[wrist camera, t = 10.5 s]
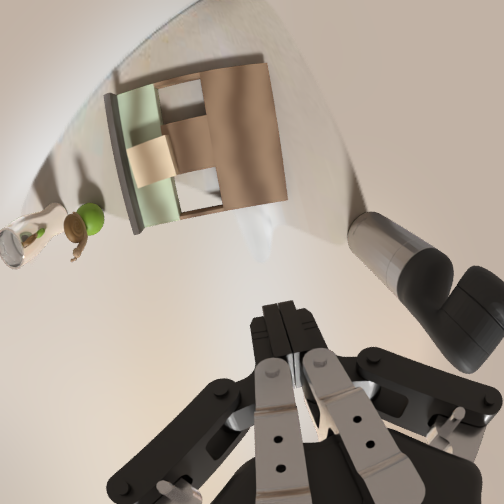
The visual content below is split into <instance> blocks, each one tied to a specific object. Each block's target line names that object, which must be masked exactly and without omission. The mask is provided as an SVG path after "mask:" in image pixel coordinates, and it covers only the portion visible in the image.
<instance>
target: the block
mask: <svg viewBox="0 0 504 504" xmlns="http://www.w3.org/2000/svg"><path fill="white" fill-rule="evenodd" d="M126 151H127V155H128V158H129V161H130V165H131V168H132V171H133V175H134V178H135V181H136V184H137V187H138V188H141V187H144V186H146V185H149V184H152V183H155V182H158V181H161V180H164V179H167V178H170V177H173V176H176V175H178V174H179V173H180V172H179V168H178V165H177V162H176V158H175V155H174V151H173V148H172V144H171V141H170V137H169V135H163V136H161V137H158V138H155V139H152V140H150V141H147V142H144V143H142V144H139V145H136V146H134V147H131V148H129V149H126Z"/></svg>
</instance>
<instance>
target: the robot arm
mask: <svg viewBox="0 0 504 504" xmlns="http://www.w3.org/2000/svg"><path fill="white" fill-rule="evenodd" d="M348 245H349V247H350V249H351V251H352V252H353V253H354V254H355V255H356V256H357V257H358V258H359V259H360V260H361V261H362V262H363V263H364V264H365V265H366V266H367V267H368V268H369V269H370V270H371V271H372V272H373V273H374V274H375V275H376V276H377V277H378V278H379V279H380V280H381V281H382V282H383V283H384V285H386V287H387V288H388V289H389V290H390V291H391V292H393V294H394V295H395V296H396V297H397V298H398V299H399V300H400V301H401V302H402V304H403V305H404V306H405V307H406V308H407V309H408V310H409V311H410V312H411V314H412V315H413V316H414V317H415V318H416V319H417V320H418V322H419V323H420V324H421V325H422V327H423V328H424V329H425V331H426V332H427V333H428V335H429V336H430V338H431V339H432V340H433V342H434V343H435V344H436V346H437V347H438V348H439V350H440V351H441V353H442V354H443V355H444V356H445V358H446V359H447V360H448V361H449V362H450V363H451V364H452V365H453V366H454V367H455V368H456V369H458V370H459V371H461V372H463V373H466V374H471V373H474V372H475V371H476V370H478V369H479V368H480V367H481V365H482V364H483V363H484V362H485V361H486V360H487V358H488V357H489V356H490V355H491V353H492V352H493V351H494V349H495V348H496V347H497V346H498V344H499V343H500V341H501V340H502V338H503V337H504V282H503V281H502V280H501V279H500V278H498V277H497V276H496V275H495V274H493V273H492V272H490V271H488V270H487V269H485V268H483V267H480V266H472V267H470V268H469V269H468V270H467V271H466V272H465V274H464V275H463V276H462V278H461V279H460V281H459V282H458V284H457V286H456V287H455V288H454V290H453V291H452V293H451V294H450V295H449V293H450V289H451V286H452V282H453V276H454V271H453V265H452V262H451V261H450V259H449V258H448V257H447V256H446V255H445V254H444V253H442V252H441V251H439V250H438V249H436V248H435V247H433V246H432V245H430V244H429V243H427V242H425V241H424V240H422V239H421V238H419V237H418V236H416V235H414V234H412V233H411V232H409V231H408V230H406V229H404V228H403V227H401V226H400V225H398V224H396V223H394V222H393V221H391V220H390V219H388V218H386V217H384V216H382V215H381V214H379V213H376V212H367V213H364V214H362V215H360V216H359V217H358V218H357V219H356V220H355V221H354V222H353V224H352V225H351V227H350V229H349V233H348ZM448 296H449V297H448ZM262 309H263V315H264V316H262V317H256V318H253V320H252V322H251V324H250V328H251V336H252V343H253V349H254V356H255V362H256V363H255V364H256V365H255V369H254V371H253V372H252V374H250V375H249V376H248V377H247V378H245V379H243V380H240V381H238V382H234V381H233V380H230V379H225V378H224V379H217V380H214V381H212V382H211V383H209V384H208V385H207V386H206V387H205V388H204V389H203V390H202V391H201V392H200V393H199V395H197V397H195V398H194V399H193V401H192V402H191V403H190V404H189V405H188V406H187V407H186V408H185V409H184V410H183V411H182V412H181V413H180V414H179V415H178V416H177V417H176V418H175V419H174V420H173V421H172V422H171V423H169V424H168V425H167V427H165V428H164V429H163V430H162V431H161V432H160V433H159V434H158V435H157V436H156V437H155V438H154V439H153V440H152V441H151V442H150V443H149V444H148V445H146V446H145V447H144V448H143V449H142V450H141V451H140V452H139V453H138V454H137V455H136V456H134V457H133V458H132V459H131V460H130V461H129V462H128V463H127V464H126V465H124V466H123V467H122V468H121V469H120V470H119V471H118V472H116V473H115V474H114V475H113V476H112V477H111V478H110V479H109V481H108V482H107V486H106V489H107V494H108V496H109V498H110V499H111V500H112V501H113V502H114V503H116V504H202V496H201V494H200V492H199V491H198V489H199V488H200V487H201V486H202V485H203V484H204V483H205V482H206V481H207V480H208V478H209V477H210V476H211V475H212V474H213V473H214V472H215V471H216V469H217V468H218V467H219V466H220V465H221V464H222V463H223V461H224V460H225V459H226V458H227V457H228V455H229V454H230V453H231V452H232V451H233V449H234V448H235V447H236V446H237V444H238V443H239V442H240V441H241V440H242V438H243V437H244V436H245V434H246V433H247V432H248V430H249V428H250V427H251V426H253V425H254V429H255V457H254V458H252V459H251V460H249V461H247V462H246V463H245V464H243V465H242V466H241V467H240V468H239V469H238V470H237V471H236V472H235V474H234V475H233V476H232V478H231V479H230V480H229V482H228V483H227V484H226V485H225V487H224V488H223V489H222V490H221V492H220V493H219V494H218V495H217V496H216V498H215V499H214V500H213V501H212V502H211V504H481V492H482V476H481V472H480V470H479V469H478V467H477V466H476V465H475V464H474V460H475V458H476V455H477V453H478V450H479V447H480V444H481V441H482V438H483V435H484V432H485V429H486V426H487V424H488V423H489V422H490V421H491V420H492V419H493V417H494V416H495V415H496V414H497V413H498V411H499V410H500V408H501V406H502V396H501V394H500V392H499V391H498V390H497V389H495V388H493V387H490V386H487V385H484V384H481V383H478V382H474V381H471V380H468V379H465V378H462V377H459V376H456V375H453V374H450V373H447V372H444V371H442V370H439V369H436V368H433V367H430V366H427V365H424V364H422V363H419V362H416V361H413V360H411V359H408V358H405V357H402V356H400V355H397V354H394V353H392V352H389V351H386V350H384V349H381V348H378V347H369V348H366V349H364V350H362V351H361V352H360V353H359V354H358V356H357V357H341V356H337V355H335V353H334V352H333V351H331V350H329V349H328V347H327V345H326V343H325V341H324V339H323V337H322V334H321V332H320V330H319V328H318V326H317V324H316V322H315V319H314V317H313V315H312V313H311V312H309V311H308V310H307V309H305V308H303V309H298V310H296V308H295V305H294V302H293V301H286V302H281V303H278V305H277V303H276V304H271V305H265V306H262ZM294 381H295V384H294ZM295 385H296V388H298V387H302V389H303V392H304V402H305V404H306V406H307V409H308V412H309V414H310V417H311V419H312V422H313V424H314V427H315V429H316V432H317V435H318V441H319V442H316V443H303V442H302V435H301V429H300V423H299V416H298V410H297V406H296V403H295V397H294V391H293V389H294V388H295ZM382 419H383V420H386V421H388V422H391V423H393V424H395V425H397V426H400V427H402V428H404V429H407V430H409V431H412V432H414V433H417V434H420V435H422V436H424V437H426V440H427V443H428V444H426V443H423V442H421V441H419V440H416V439H414V438H412V437H409V436H407V435H405V434H403V433H400V432H398V431H396V430H393V429H390V428H386V426H385V424H384V422H383V421H382Z"/></svg>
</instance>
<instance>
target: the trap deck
mask: <svg viewBox="0 0 504 504" xmlns="http://www.w3.org/2000/svg"><path fill="white" fill-rule="evenodd" d="M197 79H201V85H202V91H203V97H204V103H205V109H206V115H204V116H199V117H194V118H189V119H185V120H181V121H177V122H172V123H168V124H165V125H163V120H162V114H161V108H160V102H159V95H158V89H160V88H164V87H167V86H171V85H175V84H179V83H184V82H188V81H193V80H197ZM104 101H105V109H106V115H107V122H108V128H109V133H110V139H111V144H112V150H113V154H114V159H115V164H116V169H117V173H118V177H119V182H120V186H121V190H122V194H123V198H124V202H125V205H126V209H127V213H128V216H129V220H130V223H131V227H132V230H133V233H134V235H137V234H140V233H141V232H142V231H143V229H144V228H145V227H150V226H154V225H158V224H163V223H168V222H172V221H177V220H182V219H187V218H191V217H196V216H201V215H207V214H212V213H217V212H222V211H228V210H233V209H239V208H244V207H250V206H256V205H262V204H267V203H273V202H280V201H286V200H288V197H287V189H286V181H285V173H284V166H283V158H282V151H281V144H280V138H279V131H278V124H277V118H276V112H275V106H274V99H273V94H272V88H271V82H270V76H269V71H268V65H267V63H259V64H249V65H241V66H233V67H226V68H220V69H214V70H209V71H203V72H198V73H193V74H189V75H184V76H180V77H176V78H172V79H168V80H164V81H160V82H157V83H153V84H150V85H146V86H143V87H140V88H137V89H134V90H131V91H128V92H125V93H122V94H119V95H115V94H112V93H107V94H105V95H104ZM163 135H169V137H170V141H171V144H172V148H173V151H174V155H175V158H176V162H177V165H178V168H179V172H180V173H179V174H183V173H187V172H192V171H196V170H201V169H206V168H211V167H216V171H217V177H218V182H219V187H220V193H221V198H222V203H223V204H222V205H217V206H212V207H207V208H202V209H197V210H192V211H187V212H183V213H182V212H181V208H180V204H179V199H178V195H177V191H176V186H175V181H174V177H170V178H167V179H164V180H161V181H158V182H155V183H152V184H149V185H146V186H144V187H141V188H138V187H137V184H136V181H135V178H134V175H133V171H132V168H131V165H130V161H129V158H128V155H127V151H126V149H129V148H131V147H134V146H136V145H139V144H142V143H144V142H147V141H150V140H152V139H155V138H158V137H161V136H163Z"/></svg>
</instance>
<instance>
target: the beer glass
mask: <svg viewBox="0 0 504 504" xmlns="http://www.w3.org/2000/svg"><path fill="white" fill-rule="evenodd" d="M67 215H68V214H67V211H66V209H65V208H64V207H63V206H62V205H61V204H59V203H51V204H49V205H48V206H47V207H46V208H45V209H44V210H42V211H40V212H35V213H31V214H27V215H24V216H21V217H19V218H17V219H16V220H14V221H12V222H11V223H10V224H8V225H7V226H6V227H4V228H3V229H1V230H0V256H1V258H2V260H3V261H4V263H5V264H6V265H7V266H8V267H10V268H12V269H19V268H20V267H22V266H23V265H24V264H26V263H28V262H29V261H31V260H32V259H33V258H35V257H36V256H37V255H38V254H39V253H40V252H41V251H42V250H43V248H44V247H45V246H46V245H47V244H48V242H49V241H50V239H52V238H53V237H54V236H55V235H58V234H61V233H63V232H64V226H63V225H64V220H65V218H66V216H67Z"/></svg>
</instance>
